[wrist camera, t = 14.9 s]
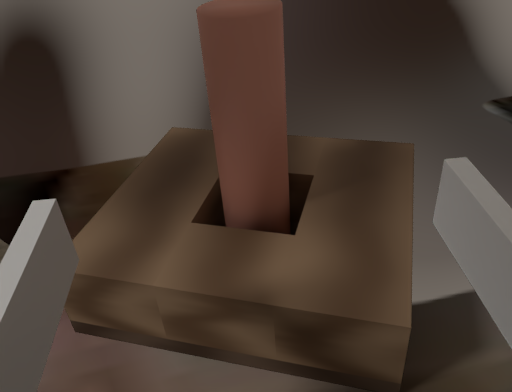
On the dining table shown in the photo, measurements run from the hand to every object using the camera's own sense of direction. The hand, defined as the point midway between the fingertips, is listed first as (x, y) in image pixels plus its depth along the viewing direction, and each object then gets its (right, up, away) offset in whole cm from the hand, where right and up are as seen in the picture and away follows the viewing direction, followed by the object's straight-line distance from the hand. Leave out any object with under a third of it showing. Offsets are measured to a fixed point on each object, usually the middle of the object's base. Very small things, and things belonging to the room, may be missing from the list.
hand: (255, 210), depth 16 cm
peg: (0, -3, +14) cm, 15 cm away
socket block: (0, -4, +15) cm, 15 cm away
